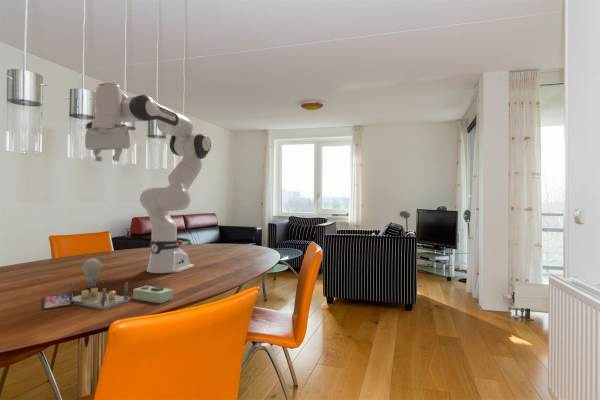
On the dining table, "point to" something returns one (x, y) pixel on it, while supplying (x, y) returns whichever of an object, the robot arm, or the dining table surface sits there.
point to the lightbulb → (91, 270)
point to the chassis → (98, 297)
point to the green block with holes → (153, 294)
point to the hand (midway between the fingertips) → (107, 161)
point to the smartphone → (56, 302)
